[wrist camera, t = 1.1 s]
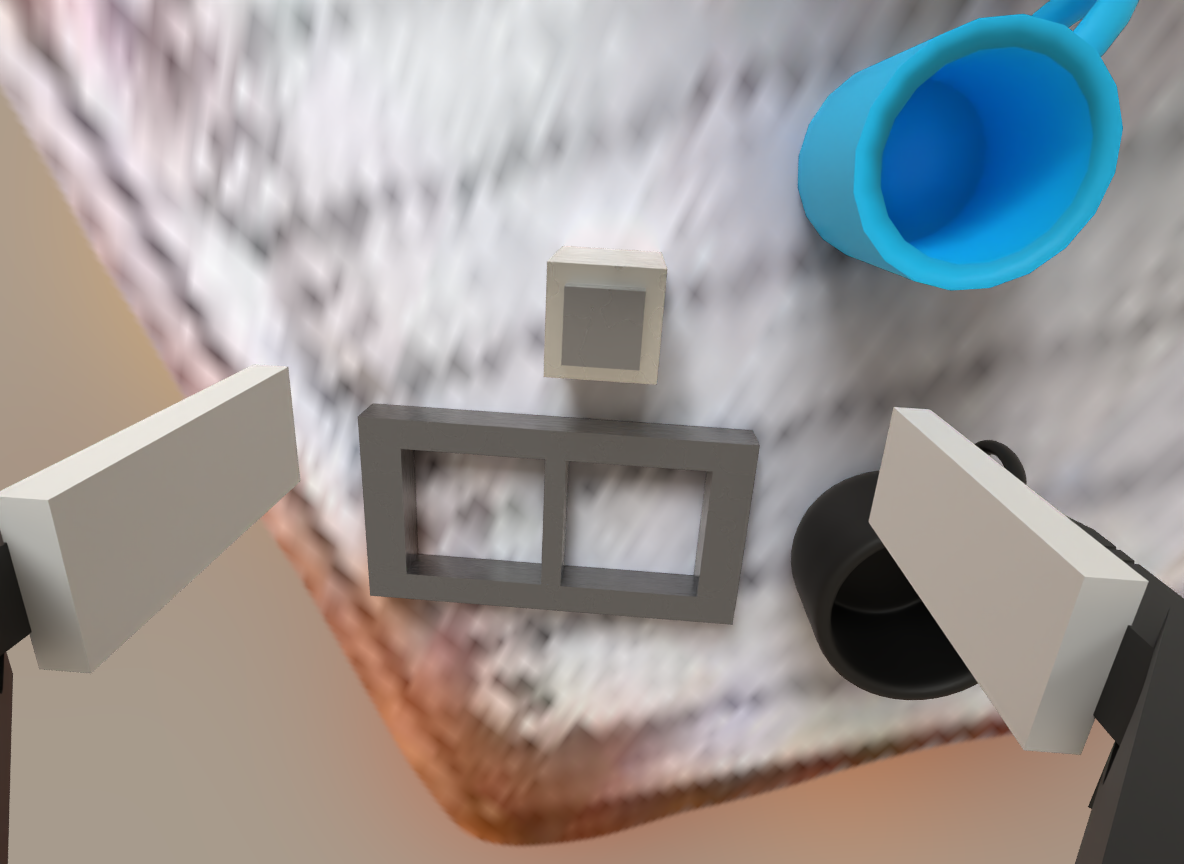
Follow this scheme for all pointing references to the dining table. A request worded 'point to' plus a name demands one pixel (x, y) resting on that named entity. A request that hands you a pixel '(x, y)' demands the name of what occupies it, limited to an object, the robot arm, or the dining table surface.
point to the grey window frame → (554, 511)
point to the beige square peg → (604, 314)
